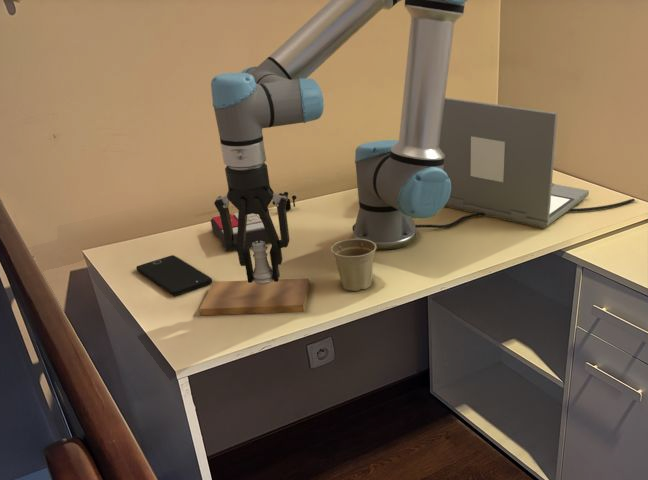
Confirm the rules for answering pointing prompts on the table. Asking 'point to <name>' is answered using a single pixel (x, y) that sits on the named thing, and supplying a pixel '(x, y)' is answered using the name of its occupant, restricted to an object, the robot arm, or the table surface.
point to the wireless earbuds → (288, 205)
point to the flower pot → (354, 262)
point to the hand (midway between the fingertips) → (264, 278)
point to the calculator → (253, 229)
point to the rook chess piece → (261, 264)
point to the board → (256, 297)
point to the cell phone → (174, 275)
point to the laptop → (503, 162)
